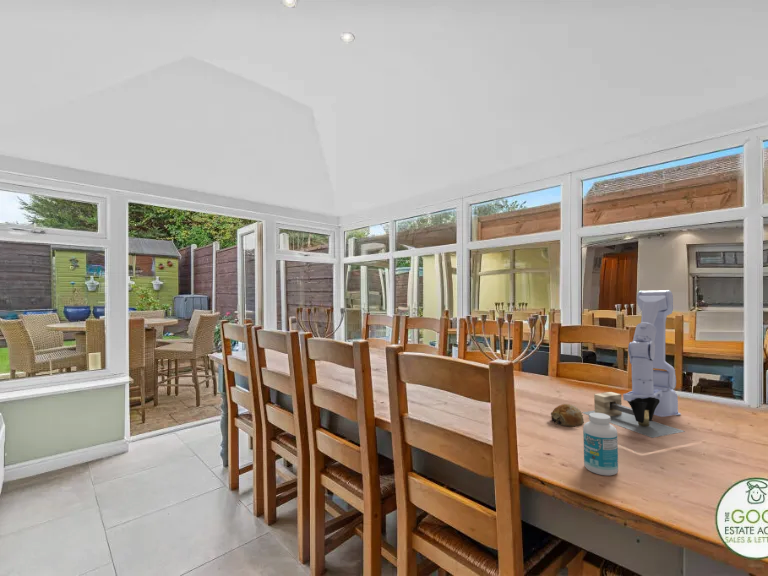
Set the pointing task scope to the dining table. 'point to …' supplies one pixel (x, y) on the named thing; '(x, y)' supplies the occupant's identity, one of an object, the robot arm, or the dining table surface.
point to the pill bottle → (600, 445)
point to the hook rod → (631, 412)
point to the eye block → (607, 403)
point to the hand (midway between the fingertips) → (643, 421)
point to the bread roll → (567, 415)
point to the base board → (631, 424)
